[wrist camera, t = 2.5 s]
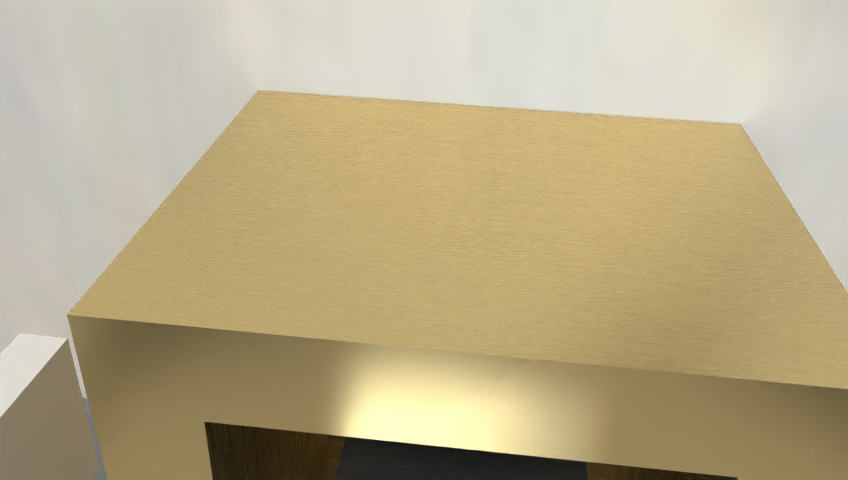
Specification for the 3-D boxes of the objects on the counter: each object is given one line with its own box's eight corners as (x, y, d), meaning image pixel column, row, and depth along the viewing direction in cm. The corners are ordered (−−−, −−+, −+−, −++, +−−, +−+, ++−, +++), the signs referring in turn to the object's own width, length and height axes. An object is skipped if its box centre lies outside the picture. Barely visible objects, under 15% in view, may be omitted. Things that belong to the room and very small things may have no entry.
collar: (285, 436, 17) (172, 745, 12) (257, 90, 13) (67, 313, 8) (651, 474, 17) (715, 820, 11) (741, 125, 13) (912, 394, 7)
